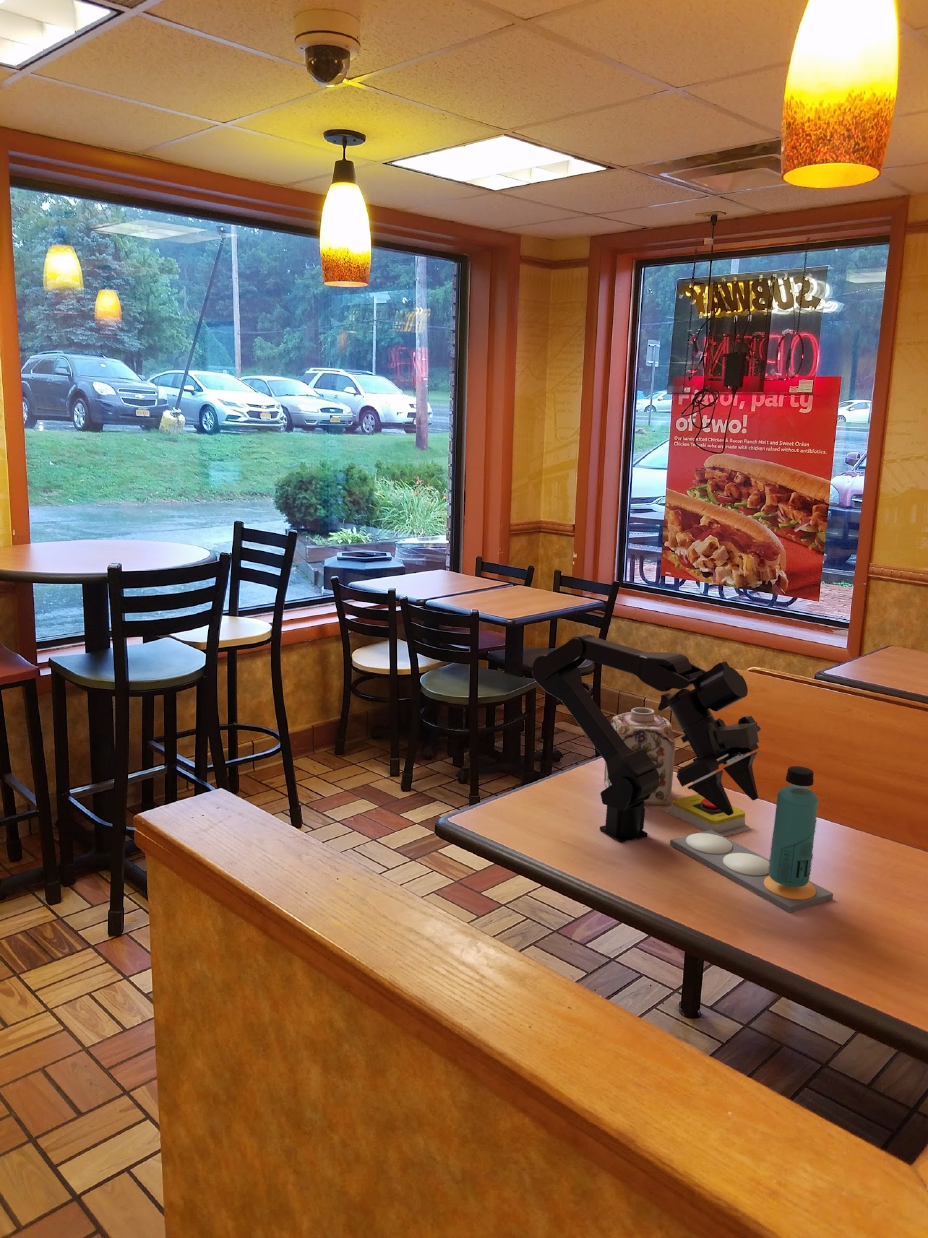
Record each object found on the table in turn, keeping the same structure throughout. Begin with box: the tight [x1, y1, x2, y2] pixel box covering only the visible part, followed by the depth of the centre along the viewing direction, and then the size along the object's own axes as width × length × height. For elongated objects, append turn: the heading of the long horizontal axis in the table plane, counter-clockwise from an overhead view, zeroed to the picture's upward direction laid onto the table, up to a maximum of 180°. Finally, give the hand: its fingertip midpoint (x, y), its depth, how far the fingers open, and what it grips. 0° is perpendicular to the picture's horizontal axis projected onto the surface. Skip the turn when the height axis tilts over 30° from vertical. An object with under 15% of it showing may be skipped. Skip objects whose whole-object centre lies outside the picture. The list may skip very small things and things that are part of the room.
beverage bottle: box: [768, 765, 820, 887], centre depth 150 cm, size 6×7×20 cm
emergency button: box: [662, 793, 751, 837], centre depth 180 cm, size 9×4×15 cm
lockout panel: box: [669, 830, 834, 914], centre depth 159 cm, size 10×27×1 cm, turn 30°
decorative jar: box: [603, 706, 676, 806], centre depth 190 cm, size 12×12×18 cm
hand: (743, 807), depth 156 cm, fingers open, 9 cm apart
